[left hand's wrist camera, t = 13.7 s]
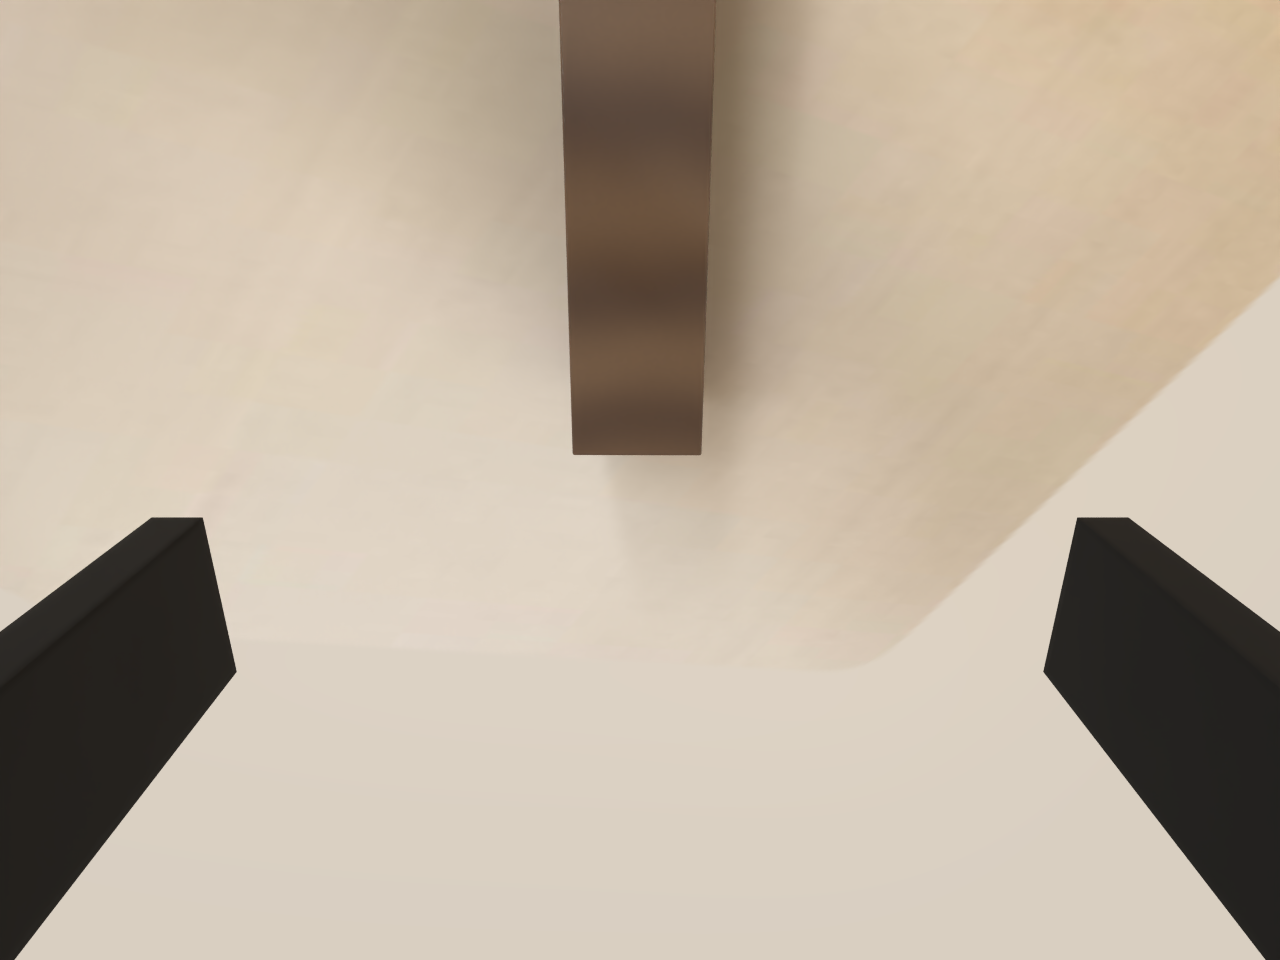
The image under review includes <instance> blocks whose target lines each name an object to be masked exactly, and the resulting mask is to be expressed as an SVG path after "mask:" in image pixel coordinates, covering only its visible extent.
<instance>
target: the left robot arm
mask: <svg viewBox="0 0 1280 960" xmlns="http://www.w3.org/2000/svg"><path fill="white" fill-rule="evenodd" d="M1043 672H1044V673H1045V675H1046V676H1047V677H1048V678H1049V680H1050V681H1051V682H1052V684H1053V685H1054V686H1055V687H1056V689H1057V690H1058V691H1059V693H1060V694H1061V695H1062V697H1063V698H1064V699H1065V700H1066V702H1067V703H1068V704H1069V706H1070V707H1071V708H1072V710H1073V711H1074V712H1075V713H1076V715H1077V716H1078V717H1079V719H1080V720H1081V721H1082V722H1083V724H1084V725H1085V726H1086V728H1087V729H1088V730H1089V732H1090V733H1091V734H1092V735H1093V737H1094V738H1095V739H1096V741H1097V742H1098V743H1099V744H1100V746H1101V747H1102V748H1103V750H1104V751H1105V752H1106V754H1107V755H1108V756H1109V757H1110V759H1111V760H1112V761H1113V763H1114V764H1115V765H1116V766H1117V768H1118V769H1119V770H1120V772H1121V773H1122V774H1123V776H1124V777H1125V778H1126V779H1127V781H1128V782H1129V783H1130V785H1131V786H1132V787H1133V789H1134V790H1135V791H1136V792H1137V794H1138V795H1139V796H1140V798H1141V799H1142V800H1143V801H1144V803H1145V804H1146V805H1147V807H1148V808H1149V809H1150V811H1151V812H1152V813H1153V814H1154V816H1155V817H1156V818H1157V820H1158V821H1159V822H1160V823H1161V825H1162V826H1163V827H1164V829H1165V830H1166V831H1167V833H1168V834H1169V835H1170V836H1171V838H1172V839H1173V840H1174V842H1175V843H1176V844H1177V846H1178V847H1179V848H1180V849H1181V851H1182V852H1183V853H1184V855H1185V856H1186V857H1187V859H1188V860H1189V861H1190V862H1191V864H1192V865H1193V866H1194V867H1195V869H1196V870H1197V871H1198V873H1199V874H1200V875H1201V877H1202V878H1203V879H1204V881H1205V882H1206V883H1207V884H1208V886H1209V887H1210V888H1211V890H1212V891H1213V892H1214V893H1215V895H1216V896H1217V897H1218V899H1219V900H1220V901H1221V902H1222V904H1223V905H1224V906H1225V908H1226V909H1227V910H1228V912H1229V913H1230V914H1231V916H1232V917H1233V918H1234V919H1235V921H1236V922H1237V923H1238V925H1239V926H1240V927H1241V928H1242V930H1243V931H1244V932H1245V934H1246V935H1247V936H1248V938H1249V939H1250V940H1251V941H1252V943H1253V944H1254V945H1255V947H1256V948H1257V949H1258V951H1259V952H1260V953H1261V954H1262V956H1263V957H1264V958H1265V960H1280V632H1279V631H1278V630H1277V629H1275V628H1274V627H1273V626H1271V625H1270V624H1269V623H1267V622H1266V621H1265V620H1263V619H1262V618H1261V617H1259V616H1258V615H1257V614H1255V613H1254V612H1253V611H1251V610H1250V609H1249V608H1247V607H1246V606H1245V605H1244V604H1242V603H1241V602H1239V601H1238V600H1237V599H1236V598H1234V597H1233V596H1232V595H1230V594H1229V593H1228V592H1226V591H1225V590H1224V589H1222V588H1221V587H1220V586H1218V585H1217V584H1216V583H1214V582H1213V581H1212V580H1210V579H1209V578H1208V577H1206V576H1205V575H1204V574H1202V573H1201V572H1200V571H1198V570H1197V569H1196V568H1194V567H1193V566H1192V565H1191V564H1189V563H1188V562H1187V561H1185V560H1184V559H1183V558H1181V557H1180V556H1179V555H1177V554H1176V553H1175V552H1173V551H1172V550H1171V549H1169V548H1168V547H1167V546H1165V545H1164V544H1163V543H1161V542H1160V541H1159V540H1157V539H1156V538H1155V537H1153V536H1152V535H1151V534H1149V533H1148V532H1147V531H1145V530H1144V529H1143V528H1141V527H1140V526H1139V525H1137V524H1136V523H1135V522H1133V521H1132V520H1131V519H1130V518H1077V521H1076V526H1075V530H1074V535H1073V539H1072V544H1071V549H1070V553H1069V558H1068V562H1067V567H1066V572H1065V576H1064V580H1063V585H1062V589H1061V594H1060V599H1059V603H1058V608H1057V612H1056V617H1055V621H1054V626H1053V630H1052V635H1051V639H1050V644H1049V649H1048V653H1047V658H1046V662H1045V667H1044V671H1043ZM235 673H236V667H235V662H234V658H233V653H232V649H231V644H230V639H229V635H228V630H227V626H226V621H225V617H224V612H223V608H222V603H221V599H220V594H219V589H218V585H217V580H216V576H215V571H214V567H213V562H212V558H211V553H210V549H209V544H208V539H207V535H206V530H205V526H204V521H203V518H150V519H149V520H148V521H146V522H145V523H144V524H142V525H141V526H140V527H139V528H137V529H136V530H135V531H133V532H132V533H131V534H129V535H128V536H127V537H125V538H124V539H123V540H121V541H120V542H119V543H117V544H116V545H115V546H113V547H112V548H111V549H109V550H108V551H107V552H105V553H104V554H103V555H101V556H100V557H99V558H97V559H96V560H95V561H93V562H92V563H91V564H89V565H88V566H87V567H85V568H84V569H83V570H82V571H80V572H79V573H78V574H76V575H75V576H74V577H72V578H71V579H70V580H68V581H67V582H66V583H64V584H63V585H62V586H60V587H59V588H58V589H56V590H55V591H54V592H52V593H51V594H50V595H48V596H47V597H46V598H44V599H43V600H42V601H40V602H39V603H38V604H36V605H35V606H34V607H32V608H31V609H30V610H28V611H27V612H26V613H25V614H23V615H22V616H21V617H19V618H18V619H17V620H15V621H14V622H13V623H11V624H10V625H9V626H7V627H6V628H5V629H3V630H2V631H1V632H0V960H15V958H16V957H17V956H18V954H19V953H20V952H21V950H22V949H23V948H24V947H25V945H26V944H27V943H28V941H29V940H30V939H31V938H32V936H33V935H34V934H35V932H36V931H37V930H38V928H39V927H40V926H41V925H42V923H43V922H44V921H45V919H46V918H47V917H48V916H49V914H50V913H51V912H52V910H53V909H54V908H55V906H56V905H57V904H58V902H59V901H60V900H61V899H62V897H63V896H64V895H65V893H66V892H67V891H68V890H69V888H70V887H71V886H72V884H73V883H74V882H75V881H76V879H77V878H78V877H79V875H80V874H81V873H82V871H83V870H84V869H85V868H86V866H87V865H88V864H89V862H90V861H91V860H92V859H93V857H94V856H95V855H96V853H97V852H98V851H99V849H100V848H101V847H102V845H103V844H104V843H105V842H106V840H107V839H108V838H109V836H110V835H111V834H112V833H113V831H114V830H115V829H116V827H117V826H118V825H119V824H120V822H121V821H122V820H123V818H124V817H125V816H126V814H127V813H128V812H129V811H130V809H131V808H132V807H133V805H134V804H135V803H136V801H137V800H138V799H139V798H140V796H141V795H142V794H143V792H144V791H145V790H146V789H147V787H148V786H149V785H150V783H151V782H152V781H153V779H154V778H155V777H156V776H157V774H158V773H159V772H160V770H161V769H162V768H163V766H164V765H165V764H166V763H167V761H168V760H169V759H170V757H171V756H172V755H173V753H174V752H175V751H176V750H177V748H178V747H179V746H180V744H181V743H182V742H183V741H184V739H185V738H186V737H187V735H188V734H189V733H190V732H191V730H192V729H193V728H194V726H195V725H196V724H197V722H198V721H199V720H200V719H201V717H202V716H203V715H204V713H205V712H206V711H207V710H208V708H209V707H210V706H211V704H212V703H213V702H214V700H215V699H216V698H217V696H218V695H219V694H220V693H221V691H222V690H223V689H224V687H225V686H226V685H227V684H228V682H229V681H230V680H231V678H232V677H233V676H234V675H235Z"/></svg>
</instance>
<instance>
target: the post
mask: <svg viewBox="0 0 1280 960" xmlns="http://www.w3.org/2000/svg"><path fill="white" fill-rule="evenodd" d="M559 16H560V49H561V82H562V115H563V148H564V181H565V214H566V247H567V280H568V313H569V346H570V379H571V412H572V445H573V454H574V455H701V449H702V418H703V387H704V357H705V326H706V295H707V264H708V233H709V202H710V171H711V140H712V109H713V78H714V48H715V17H716V0H559Z"/></svg>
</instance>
